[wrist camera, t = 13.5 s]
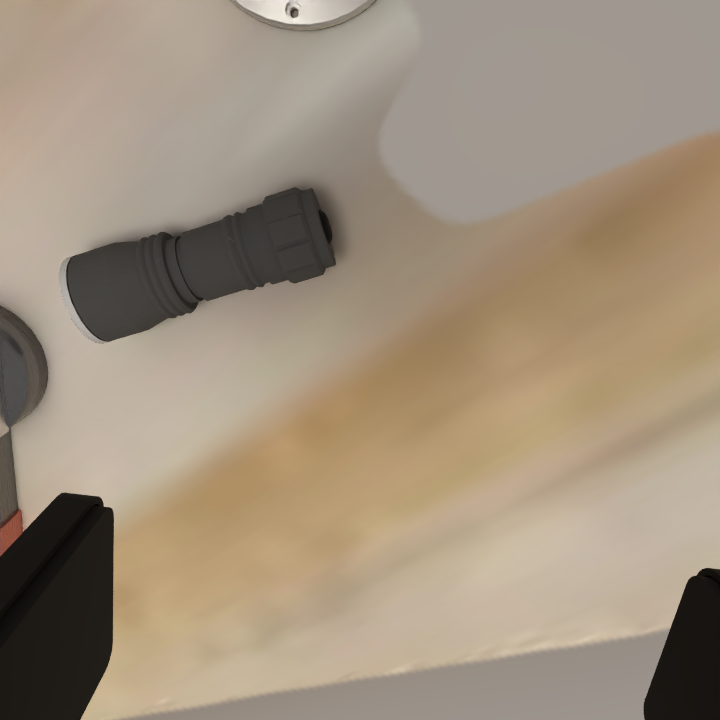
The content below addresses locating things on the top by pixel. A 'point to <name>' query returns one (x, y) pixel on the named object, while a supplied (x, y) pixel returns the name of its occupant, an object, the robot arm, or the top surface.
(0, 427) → the socket
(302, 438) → the top surface
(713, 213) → the top surface
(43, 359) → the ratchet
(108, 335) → the flashlight
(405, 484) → the top surface
